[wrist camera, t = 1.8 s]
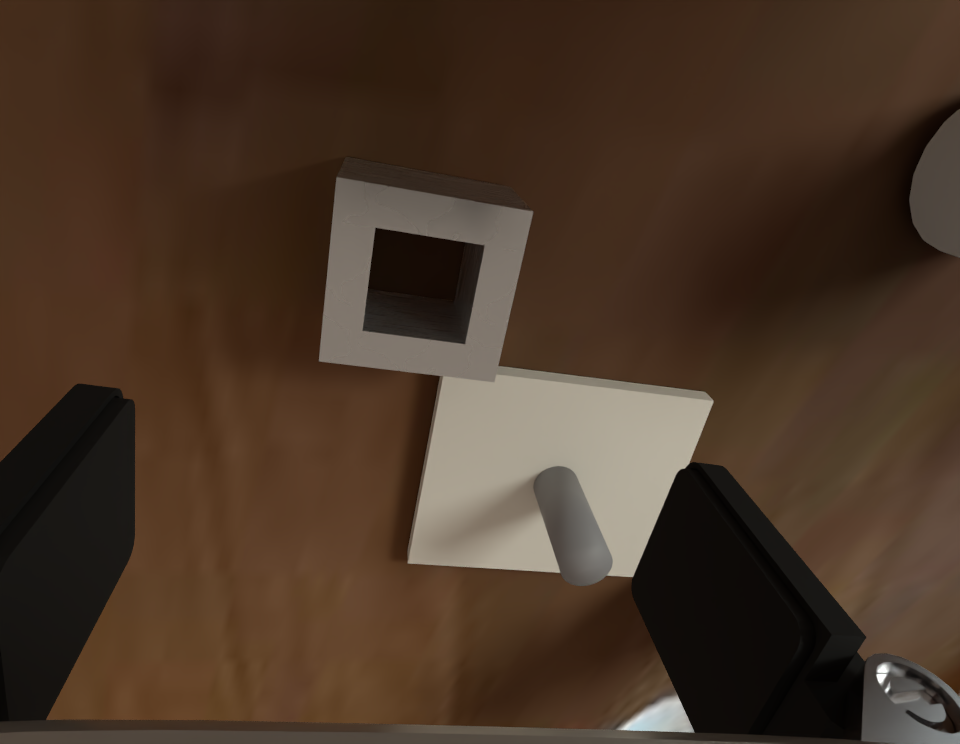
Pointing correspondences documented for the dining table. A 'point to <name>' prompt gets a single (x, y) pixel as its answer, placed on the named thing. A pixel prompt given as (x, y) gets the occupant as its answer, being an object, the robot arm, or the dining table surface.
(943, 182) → the can
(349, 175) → the grey hollow square block
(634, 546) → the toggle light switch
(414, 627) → the dining table surface
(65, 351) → the dining table surface
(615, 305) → the dining table surface
